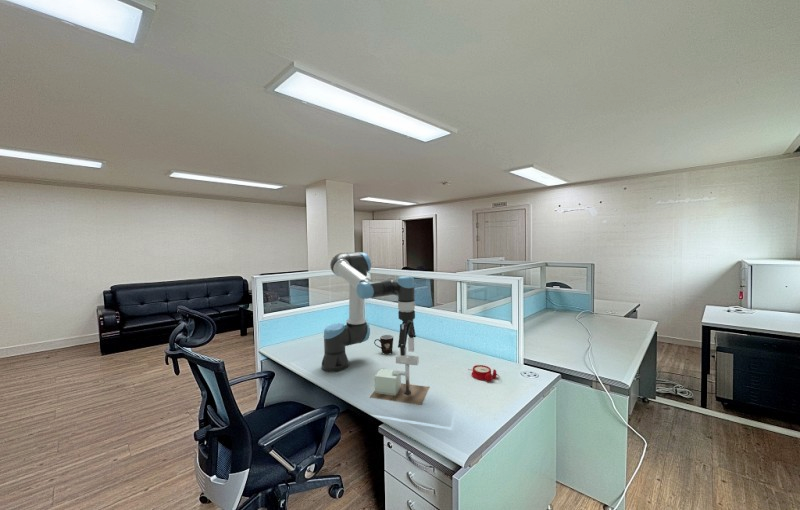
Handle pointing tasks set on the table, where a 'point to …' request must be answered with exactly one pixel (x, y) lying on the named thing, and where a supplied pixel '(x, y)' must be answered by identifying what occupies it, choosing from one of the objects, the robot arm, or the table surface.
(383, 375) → the pale green block
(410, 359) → the grey t-shaped stand
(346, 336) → the robot arm
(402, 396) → the board
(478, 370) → the alarm clock
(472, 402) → the table surface
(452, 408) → the table surface
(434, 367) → the table surface
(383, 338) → the coffee mug
